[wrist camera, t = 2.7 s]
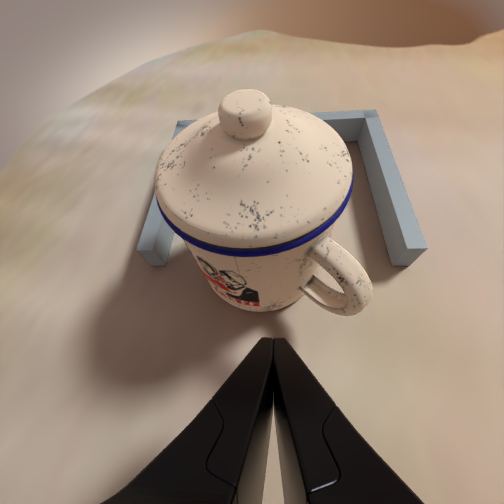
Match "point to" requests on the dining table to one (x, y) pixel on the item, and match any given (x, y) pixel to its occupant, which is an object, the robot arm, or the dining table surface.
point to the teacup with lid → (263, 204)
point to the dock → (379, 176)
